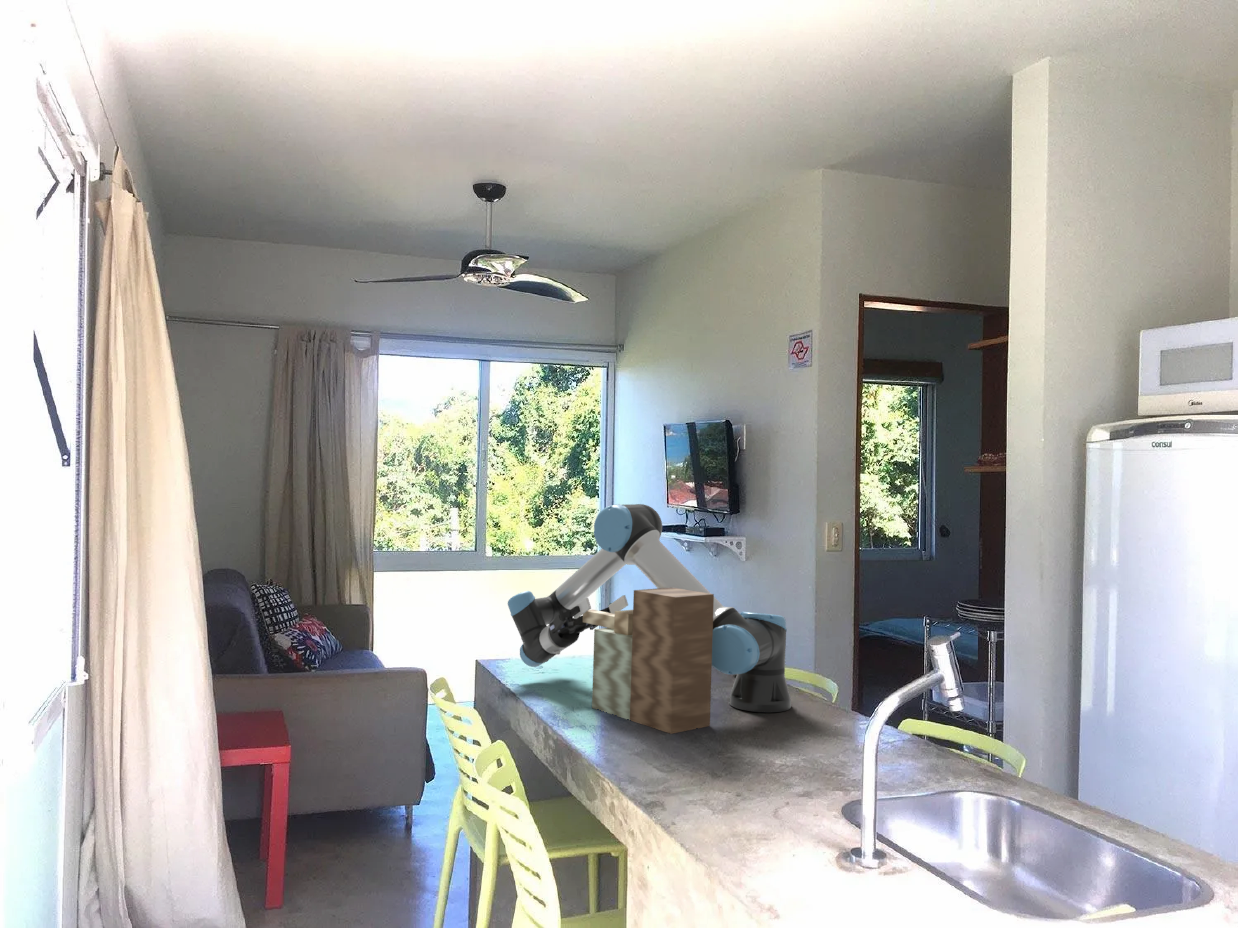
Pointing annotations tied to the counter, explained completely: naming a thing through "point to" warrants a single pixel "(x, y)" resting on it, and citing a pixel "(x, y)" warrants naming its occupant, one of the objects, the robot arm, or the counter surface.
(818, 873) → the counter surface
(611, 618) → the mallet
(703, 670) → the step stand
